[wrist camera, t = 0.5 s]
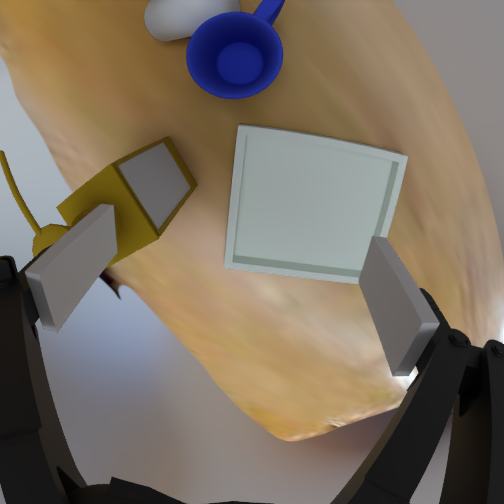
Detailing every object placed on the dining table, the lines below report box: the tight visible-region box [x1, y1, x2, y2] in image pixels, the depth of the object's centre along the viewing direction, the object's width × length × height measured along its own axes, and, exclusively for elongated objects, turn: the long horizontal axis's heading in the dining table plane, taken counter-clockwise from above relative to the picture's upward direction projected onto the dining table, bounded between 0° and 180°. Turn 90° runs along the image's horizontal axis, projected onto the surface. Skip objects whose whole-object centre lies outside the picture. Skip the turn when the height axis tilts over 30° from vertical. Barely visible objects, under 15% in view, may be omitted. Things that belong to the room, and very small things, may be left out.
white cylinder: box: [144, 0, 240, 41], centre depth 25 cm, size 6×6×8 cm
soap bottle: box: [0, 136, 197, 268], centre depth 27 cm, size 7×13×24 cm, turn 28°
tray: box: [224, 123, 408, 284], centre depth 38 cm, size 18×20×3 cm
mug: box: [186, 0, 285, 99], centre depth 26 cm, size 8×12×10 cm
